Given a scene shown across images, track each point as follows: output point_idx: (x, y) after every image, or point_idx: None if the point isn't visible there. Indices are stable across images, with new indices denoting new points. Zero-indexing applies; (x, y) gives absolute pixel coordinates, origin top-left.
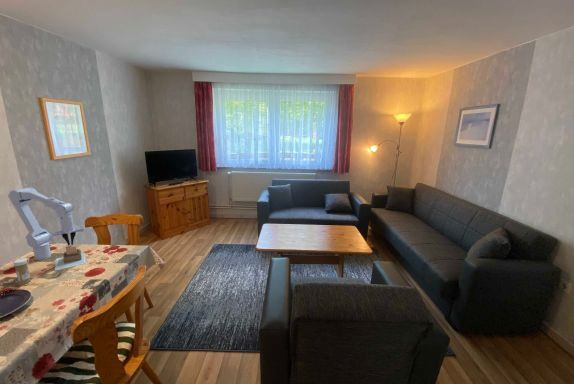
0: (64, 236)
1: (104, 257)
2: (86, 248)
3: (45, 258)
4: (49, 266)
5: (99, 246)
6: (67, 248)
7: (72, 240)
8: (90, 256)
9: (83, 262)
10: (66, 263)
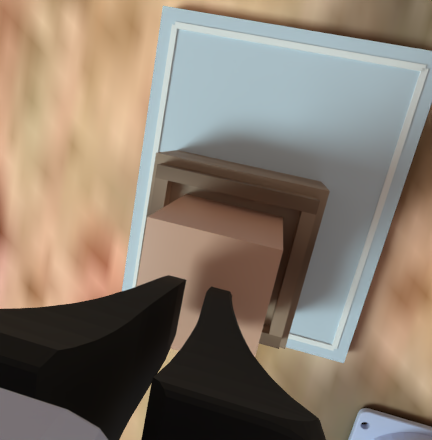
0: (263, 409)
1: (14, 76)
2: None
3: (408, 437)
4: (425, 255)
5: None
6: (260, 241)
7: (127, 298)
8: (104, 203)
9: (179, 55)
10: (305, 164)
